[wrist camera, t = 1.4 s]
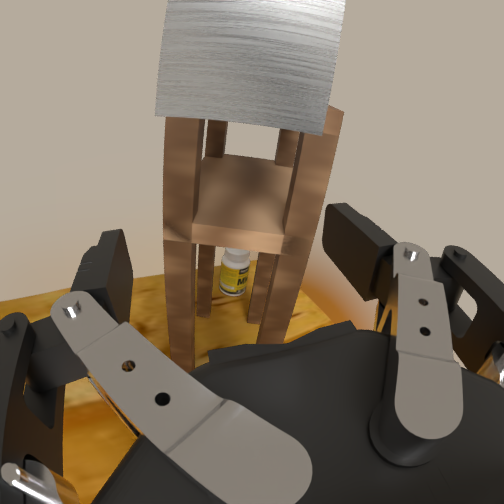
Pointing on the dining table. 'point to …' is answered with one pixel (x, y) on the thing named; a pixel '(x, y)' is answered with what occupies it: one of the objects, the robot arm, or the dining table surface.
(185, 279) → the walnut shelf
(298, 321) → the dining table surface
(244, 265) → the supplement bottle
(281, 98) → the bar
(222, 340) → the dining table surface
